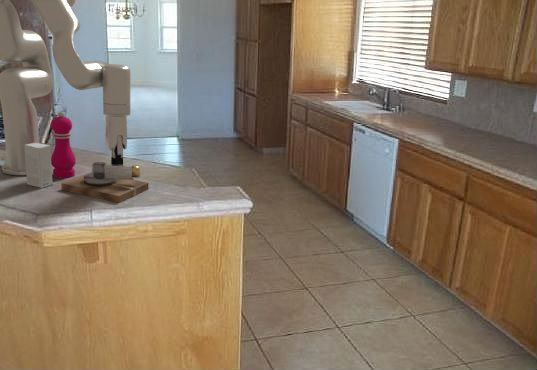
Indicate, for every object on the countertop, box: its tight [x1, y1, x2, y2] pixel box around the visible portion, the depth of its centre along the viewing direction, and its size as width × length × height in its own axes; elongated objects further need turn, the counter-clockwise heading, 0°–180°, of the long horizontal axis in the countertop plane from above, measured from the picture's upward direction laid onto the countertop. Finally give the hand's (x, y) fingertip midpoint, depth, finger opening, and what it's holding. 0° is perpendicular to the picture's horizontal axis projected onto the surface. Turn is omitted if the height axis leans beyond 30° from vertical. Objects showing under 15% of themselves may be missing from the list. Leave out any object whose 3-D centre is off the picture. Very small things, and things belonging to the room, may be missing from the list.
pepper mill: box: [50, 111, 77, 179], centre depth 159 cm, size 7×7×20 cm
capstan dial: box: [84, 161, 141, 186], centre depth 152 cm, size 16×9×5 cm, turn 89°
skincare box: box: [24, 142, 53, 189], centre depth 150 cm, size 6×4×12 cm
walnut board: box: [61, 171, 150, 204], centre depth 152 cm, size 20×14×2 cm
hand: (117, 169), depth 154 cm, fingers closed
